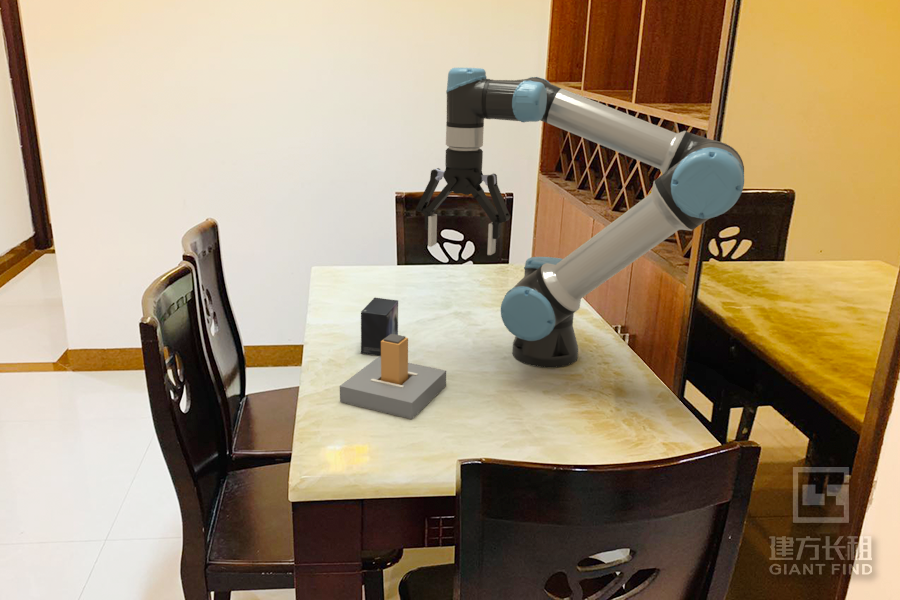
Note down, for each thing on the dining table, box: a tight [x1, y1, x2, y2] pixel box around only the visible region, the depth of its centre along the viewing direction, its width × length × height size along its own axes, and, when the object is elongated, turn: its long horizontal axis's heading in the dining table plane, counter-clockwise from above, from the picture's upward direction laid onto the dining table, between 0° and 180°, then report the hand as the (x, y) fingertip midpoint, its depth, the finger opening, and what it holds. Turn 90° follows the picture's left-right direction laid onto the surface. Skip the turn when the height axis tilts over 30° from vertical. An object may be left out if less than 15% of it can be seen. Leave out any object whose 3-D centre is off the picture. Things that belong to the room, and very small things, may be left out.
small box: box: [360, 297, 399, 357], centre depth 169 cm, size 11×6×10 cm, turn 168°
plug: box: [380, 334, 409, 385], centre depth 146 cm, size 4×4×12 cm
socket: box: [339, 356, 447, 420], centre depth 148 cm, size 16×16×4 cm
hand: (461, 249), depth 154 cm, fingers open, 13 cm apart
